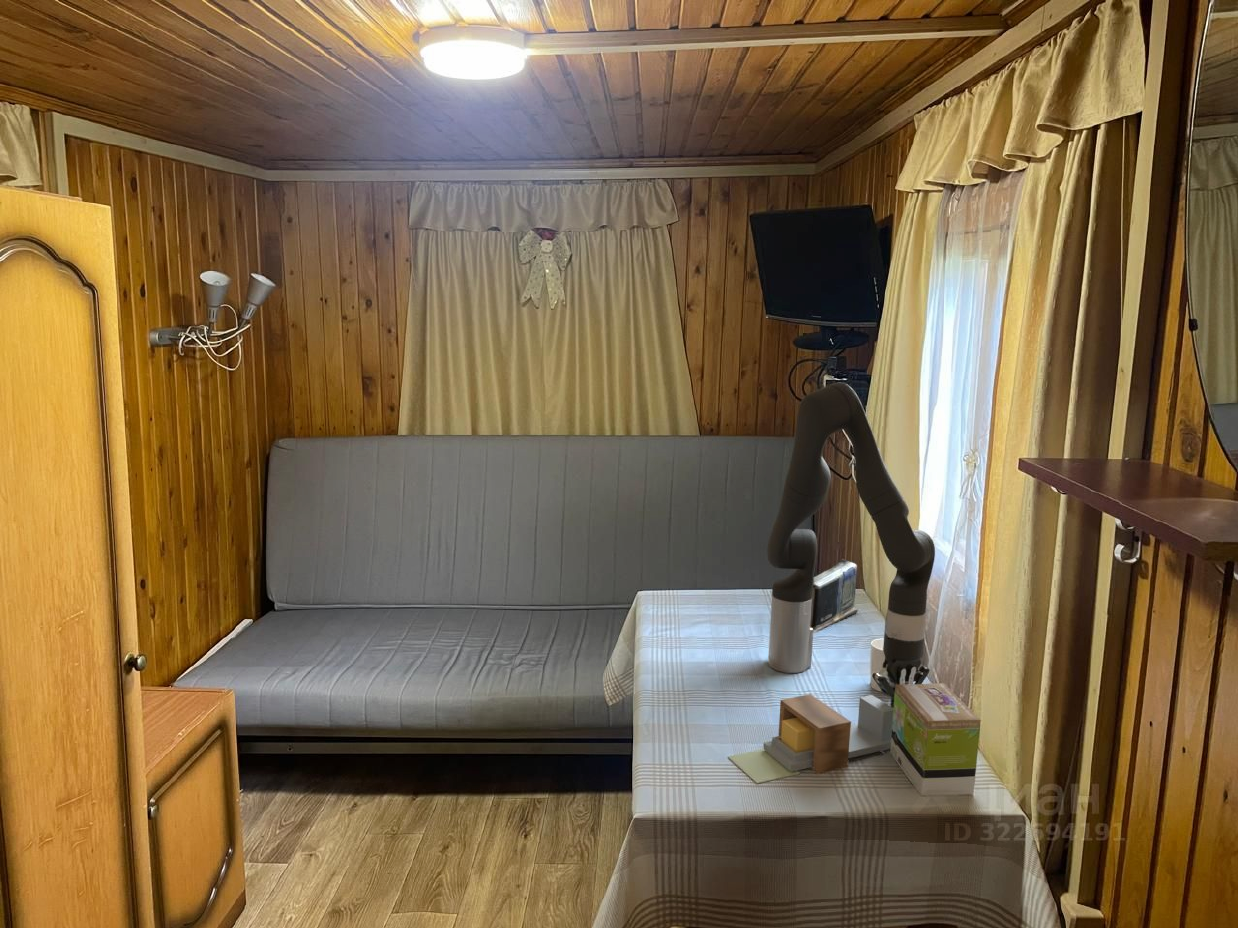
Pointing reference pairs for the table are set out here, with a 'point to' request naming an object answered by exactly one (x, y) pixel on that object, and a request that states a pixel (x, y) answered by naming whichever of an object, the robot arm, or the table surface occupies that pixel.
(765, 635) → the table surface
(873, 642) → the white cup
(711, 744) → the table surface
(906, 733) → the tea box
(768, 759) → the mat
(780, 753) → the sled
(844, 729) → the tunnel
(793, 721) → the block
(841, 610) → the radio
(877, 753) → the mat
